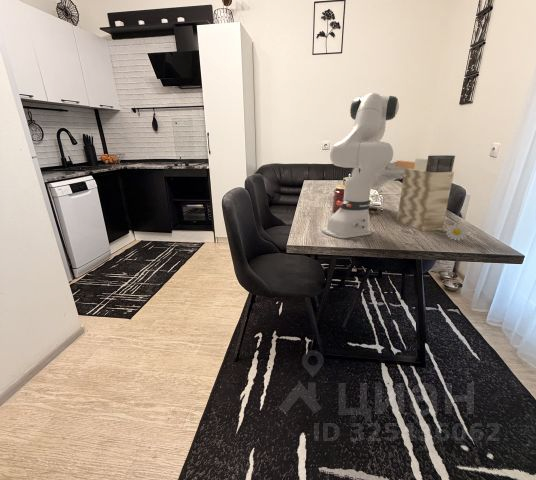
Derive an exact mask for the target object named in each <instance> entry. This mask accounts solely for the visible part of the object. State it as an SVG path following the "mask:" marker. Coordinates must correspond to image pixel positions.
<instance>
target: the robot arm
mask: <svg viewBox="0 0 536 480" xmlns="http://www.w3.org/2000/svg"><path fill="white" fill-rule="evenodd" d="M399 109H400V104H399V100H398V98H397V96H393V95H389V96H388V95H380V94H379V93H375V92H371V93H368V94H366V95H365V96H358V97H355V98H354V99H352V101H351V104H350V106H349V113H350V117H351V119H352V120H354V123H353V126H352V128H351V131H350V132H349V133H348V134H347V135H346V136H345V137H344V138H343V139H341V141H338V142H336V143H334V145H332V148H331V150H330V153H329V157H330V161H331V163H332V164H333V165H334V166H336V167H341V168H349V169H350V168H352V169H351V172H350V173H351V177H349V178H348V179H347V180H345V181H346V183H345V188H344V199H343V200H342V202H341V201H337V202H336V203H337V205H339V206H340V209H339V210H337V211H336V212H333V214H332V215H331V216H330V217H329V218H328V221H327V226H326V227H323V228H321V232H322V233H324V234H326V235H328V236H331V237H334V238H338V239H350V238H354V237H362V236H368V235H371V234H372V233H371V230H370V224H371V223H370V221H371V220H370V212H369V209H370V206H371V200H370V198H371V197H370V195H371V190H373V191H374V190H375V191H376V190H379V189H381V188H383V187H384V186H385V185H386V184H389V183H391V182H393V181H398V180H401V179H402V180H403V177H404V170H405V169H411V168H403V167H396V165H397V162H396V161H393V162H392V160H393V158H394V149H393V147H392V145H391V144H390V143H389V142H385V141H381V140H382V138H383V137H384V134H385V133H386V124H387V122H388V121H391V120H393V119H394V118H396V115H397V114H398V111H399Z"/></svg>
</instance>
